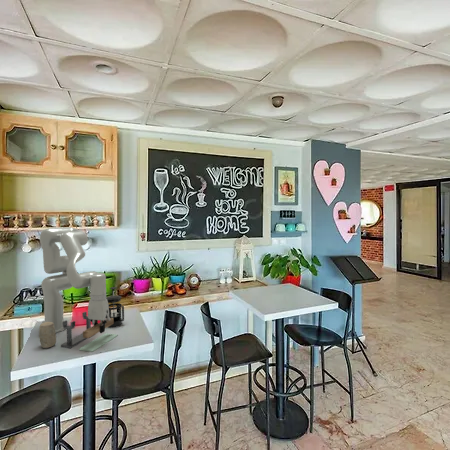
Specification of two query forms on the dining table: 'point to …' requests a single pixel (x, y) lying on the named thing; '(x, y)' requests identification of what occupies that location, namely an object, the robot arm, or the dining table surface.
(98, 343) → the mat
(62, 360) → the dining table surface
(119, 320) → the french press
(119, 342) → the dining table surface
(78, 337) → the rail stand
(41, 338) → the carving
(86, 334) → the bar
